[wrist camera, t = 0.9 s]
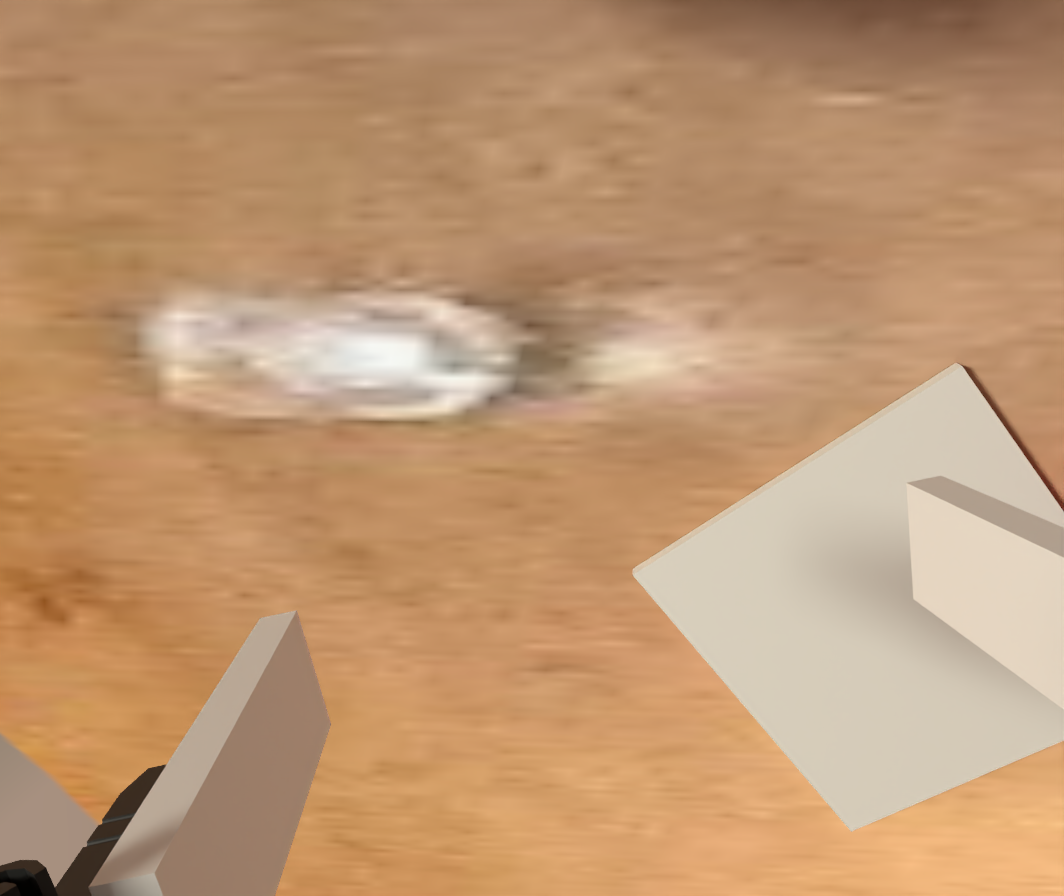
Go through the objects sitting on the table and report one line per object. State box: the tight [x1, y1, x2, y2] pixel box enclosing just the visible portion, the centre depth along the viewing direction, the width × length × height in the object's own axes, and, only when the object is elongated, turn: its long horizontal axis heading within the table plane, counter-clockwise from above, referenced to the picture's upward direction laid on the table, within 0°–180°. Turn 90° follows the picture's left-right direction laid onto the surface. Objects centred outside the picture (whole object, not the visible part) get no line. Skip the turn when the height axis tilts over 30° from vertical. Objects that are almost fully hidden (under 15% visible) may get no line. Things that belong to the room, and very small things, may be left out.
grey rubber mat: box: [633, 363, 1064, 831], centre depth 32 cm, size 16×18×1 cm
